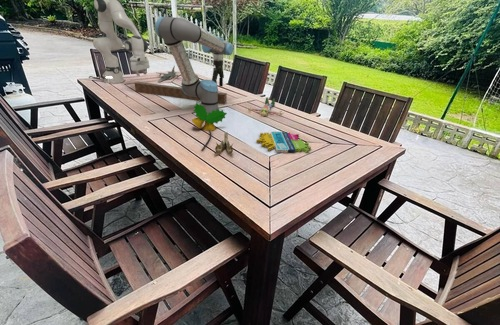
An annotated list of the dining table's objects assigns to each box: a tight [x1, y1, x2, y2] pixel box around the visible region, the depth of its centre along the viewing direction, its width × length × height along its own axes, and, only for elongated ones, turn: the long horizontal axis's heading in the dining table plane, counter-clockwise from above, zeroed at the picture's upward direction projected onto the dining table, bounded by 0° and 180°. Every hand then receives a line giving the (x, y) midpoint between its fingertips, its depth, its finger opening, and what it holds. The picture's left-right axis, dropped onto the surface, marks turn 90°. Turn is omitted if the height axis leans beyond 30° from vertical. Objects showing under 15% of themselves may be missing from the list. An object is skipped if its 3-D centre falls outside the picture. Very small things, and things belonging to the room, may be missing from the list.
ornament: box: [191, 102, 228, 132], centre depth 162 cm, size 21×8×15 cm, turn 105°
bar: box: [134, 81, 228, 105], centre depth 219 cm, size 81×6×8 cm, turn 75°
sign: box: [256, 131, 312, 154], centre depth 152 cm, size 26×2×30 cm
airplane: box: [157, 65, 182, 83], centre depth 276 cm, size 38×32×10 cm
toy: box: [246, 97, 284, 117], centre depth 201 cm, size 28×7×30 cm
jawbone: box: [214, 131, 234, 156], centre depth 136 cm, size 9×15×10 cm
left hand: (141, 75), depth 221 cm, fingers open, 8 cm apart
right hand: (218, 88), depth 209 cm, fingers open, 13 cm apart
